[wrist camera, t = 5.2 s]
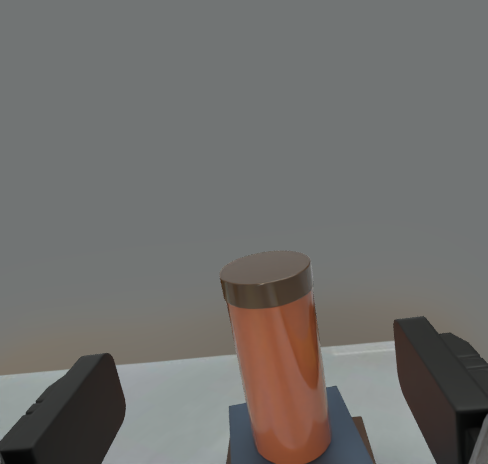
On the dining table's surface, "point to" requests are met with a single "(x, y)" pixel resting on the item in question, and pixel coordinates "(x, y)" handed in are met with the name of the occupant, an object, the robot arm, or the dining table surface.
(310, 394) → the terracotta canister
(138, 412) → the dining table surface
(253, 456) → the block stack
